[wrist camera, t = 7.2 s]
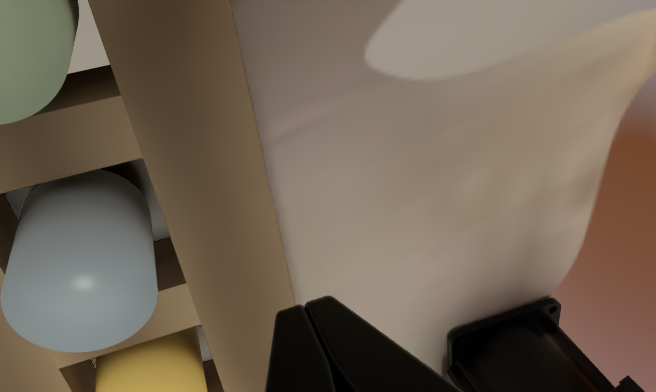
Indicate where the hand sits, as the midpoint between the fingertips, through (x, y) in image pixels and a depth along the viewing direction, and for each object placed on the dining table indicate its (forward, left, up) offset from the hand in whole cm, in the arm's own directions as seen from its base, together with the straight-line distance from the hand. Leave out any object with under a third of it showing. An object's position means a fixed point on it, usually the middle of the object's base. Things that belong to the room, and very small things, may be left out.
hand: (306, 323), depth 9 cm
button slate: (+5, +4, -11) cm, 13 cm away
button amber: (+5, +11, -12) cm, 17 cm away
